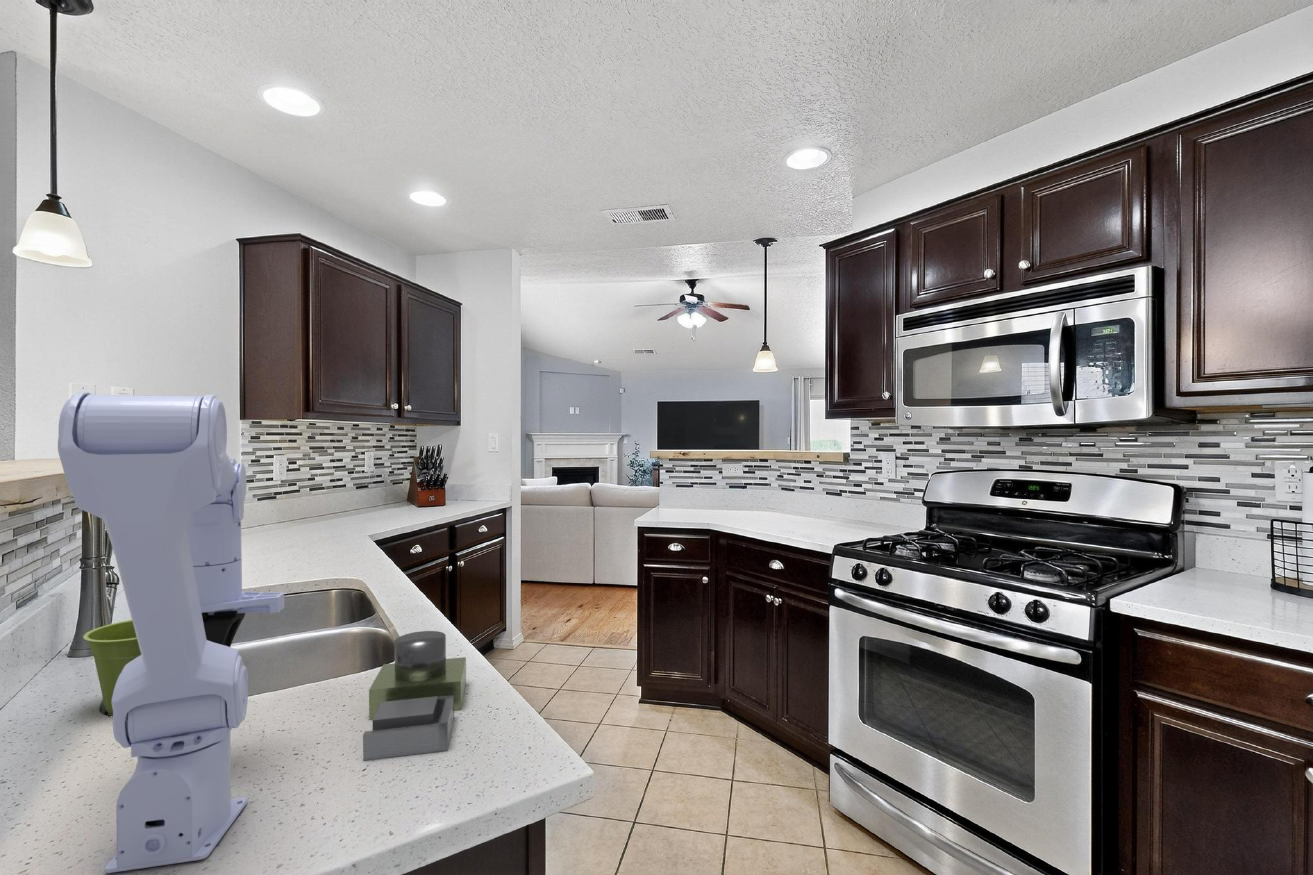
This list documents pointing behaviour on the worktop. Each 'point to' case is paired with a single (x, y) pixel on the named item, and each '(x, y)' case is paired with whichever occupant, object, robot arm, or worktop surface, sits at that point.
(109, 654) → the plant pot
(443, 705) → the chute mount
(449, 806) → the worktop surface
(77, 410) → the robot arm
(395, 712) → the grey block
